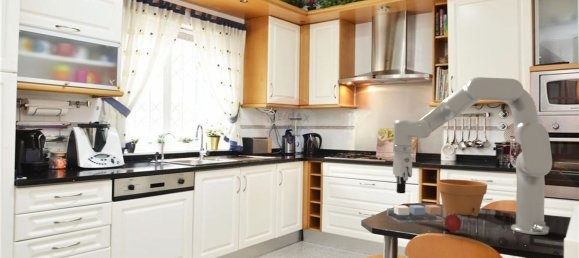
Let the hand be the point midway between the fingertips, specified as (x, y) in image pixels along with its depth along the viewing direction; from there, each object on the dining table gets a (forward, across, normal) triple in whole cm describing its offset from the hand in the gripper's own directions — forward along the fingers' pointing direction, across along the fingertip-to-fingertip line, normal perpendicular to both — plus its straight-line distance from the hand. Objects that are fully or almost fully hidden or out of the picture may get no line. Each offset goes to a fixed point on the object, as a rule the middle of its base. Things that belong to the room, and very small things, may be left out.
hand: (400, 192), depth 180 cm
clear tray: (+12, 0, -8) cm, 14 cm away
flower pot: (+12, +12, -35) cm, 38 cm away
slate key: (+9, 0, -8) cm, 11 cm away
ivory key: (+9, 0, -1) cm, 9 cm away
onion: (+12, -20, -13) cm, 27 cm away
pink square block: (+9, 0, -15) cm, 17 cm away
